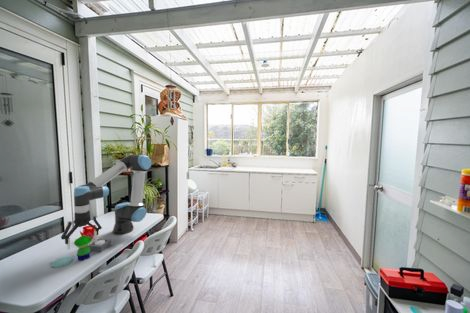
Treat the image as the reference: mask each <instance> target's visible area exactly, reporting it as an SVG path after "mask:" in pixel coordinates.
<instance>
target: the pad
mask: <svg viewBox="0 0 470 313" xmlns="http://www.w3.org/2000/svg"><path fill="white" fill-rule="evenodd" d="M75 259H76V258H75V256H71V255H70V256H64V257H60V258H58V259H56V260H54V261H52V262H51V264H50V267H51V268H54V269H56V268H62V267H65V266H68V265H70V264H71V263H73V262H74V261H75Z"/></svg>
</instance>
